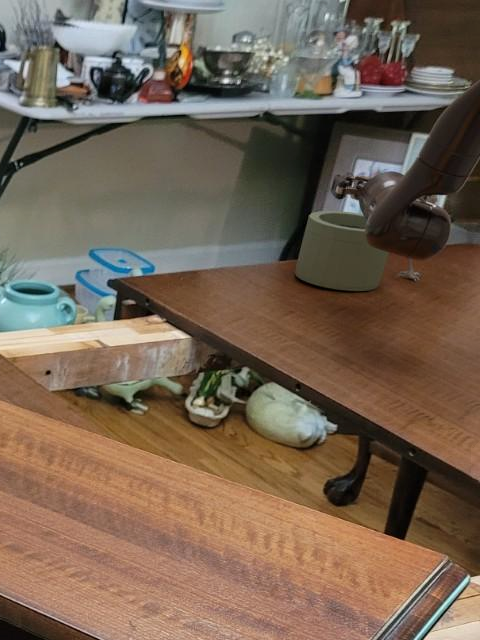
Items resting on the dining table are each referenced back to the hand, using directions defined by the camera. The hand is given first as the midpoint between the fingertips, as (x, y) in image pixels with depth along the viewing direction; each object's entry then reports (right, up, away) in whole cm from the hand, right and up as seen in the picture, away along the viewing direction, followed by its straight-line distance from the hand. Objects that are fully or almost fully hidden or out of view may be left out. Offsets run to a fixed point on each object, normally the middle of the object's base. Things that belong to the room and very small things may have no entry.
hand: (374, 181), depth 177 cm
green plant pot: (+1, -11, +18) cm, 21 cm away
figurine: (+15, -10, +20) cm, 27 cm away
